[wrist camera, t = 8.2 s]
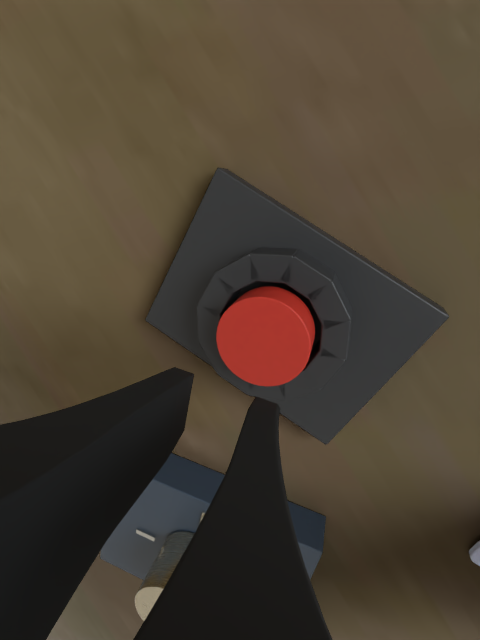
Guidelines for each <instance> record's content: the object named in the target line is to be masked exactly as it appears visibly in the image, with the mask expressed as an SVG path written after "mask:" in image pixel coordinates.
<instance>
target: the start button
mask: <svg viewBox="0 0 480 640" xmlns="http://www.w3.org/2000/svg"><path fill="white" fill-rule="evenodd" d="M314 338H315V324H314V320H313V317H312V314H311V312H310V310H309V309H308V307H307V306H306V304H305V303H304V302H303V301H302V300H301V299H300V298H299V297H297V296H296V295H295V294H293V293H291V292H290V291H288V290H285V289H282V288H279V287H273V286H264V287H258V288H254V289H252V290H249V291H248V292H246V293H244V294H243V295H242V296H241V297H240V298H238V299H237V300H236V301H235V302H234V303H233V304H232V305H231V306H230V307H229V308H228V309H227V310H226V311H225V312H224V314H223V315H222V317H221V319H220V321H219V323H218V326H217V332H216V341H217V347H218V351H219V354H220V356H221V358H222V360H223V361H224V363H225V364H226V366H227V367H228V368H229V369H230V370H231V371H232V372H233V373H234V374H235V375H236V376H238V377H239V378H241V379H243V380H244V381H246V382H249V383H251V384H254V385H259V386H278V385H281V384H285V383H287V382H289V381H291V380H293V379H294V378H295V377H297V376H298V375H299V374H300V373H301V372H302V371H303V369H304V368H305V366H306V364H307V362H308V360H309V357H310V353H311V350H312V346H313V342H314Z"/></svg>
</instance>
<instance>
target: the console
mask: <svg viewBox="0 0 480 640" xmlns="http://www.w3.org/2000/svg"><path fill="white" fill-rule="evenodd" d="M224 476H225V475H224V474H221V473H219V472H216V471H214V470H212V469H209V468H207V467H204V466H202V465H199V464H197V463H195V462H192V461H190V460H187V459H185V458H182V457H180V456H178V455H175V454H173V453H171V454H170V456H169V457H168V459H167V461H166V462H165V463H164V465H163V466H162V468H161V469H160V470H159V472H158V473H157V474H156V476H155V477H154V478H153V480H152V481H151V482H150V484H149V485H148V486H147V488H146V489H145V490H144V491H143V493H142V494H141V495H140V497H139V498H138V499H137V501H136V502H135V503H134V505H133V506H132V507H131V509H130V510H129V511H128V513H127V514H126V515H125V517H124V518H123V519H122V521H121V522H120V523H119V524H118V526H117V527H116V528H115V530H114V531H113V533H112V534H111V536H110V537H109V538H108V540H107V541H106V543H105V544H104V546H103V547H102V549H101V556H100V558H101V559H102V560H104V561H106V562H108V563H110V564H112V565H114V566H116V567H118V568H120V569H122V570H124V571H126V572H128V573H130V574H132V575H134V576H136V577H138V578H140V579H142V580H144V579H145V577H146V575H147V573H148V571H149V570H150V568H151V566H152V564H153V562H154V560H155V558H156V557H157V555H158V553H159V551H160V549H161V547H162V546H163V544H164V542H165V540H166V538H167V537H168V536H169V535H171V534H173V533H175V532H180V531H185V532H192V533H195V532H196V530H197V528H198V526H199V524H200V522H201V521H202V519H203V517H204V515H205V513H206V511H207V509H208V507H209V506H210V504H211V502H212V500H213V498H214V496H215V494H216V492H217V490H218V488H219V486H220V484H221V482H222V480H223V478H224ZM288 506H289V510H290V514H291V518H292V522H293V526H294V530H295V534H296V537H297V541H298V544H299V547H300V551H301V554H302V557H303V561H304V564H305V567H306V570H307V573H308V575H309V578H310V579H311V577H312V575H313V573H314V570H315V568H316V566H317V564H318V562H319V559H320V557H321V555H322V553H323V543H324V532H325V521H326V517H325V516H323V515H321V514H319V513H316V512H314V511H311V510H309V509H306V508H304V507H302V506H299V505H297V504H294V503H292V502H289V501H288Z"/></svg>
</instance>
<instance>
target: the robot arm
mask: <svg viewBox="0 0 480 640" xmlns="http://www.w3.org/2000/svg"><path fill="white" fill-rule="evenodd" d="M193 377H194V374H192V373H190V372H187V371H184V370H181V369H178V368H176V367H174V368H171V369H169V370H166V371H164V372H161V373H159V374H156V375H154V376H152V377H149V378H147V379H144V380H142V381H140V382H137V383H135V384H132V385H130V386H127V387H125V388H122V389H120V390H117V391H115V392H112V393H109V394H107V395H104V396H101V397H98V398H95V399H92V400H90V401H87V402H84V403H81V404H78V405H75V406H72V407H69V408H66V409H62V410H59V411H56V412H52V413H48V414H45V415H41V416H37V417H33V418H29V419H25V420H21V421H16V422H12V423H7V424H2V425H0V640H46V639H47V637H48V635H49V634H50V632H51V630H52V629H53V627H54V625H55V624H56V622H57V620H58V619H59V617H60V615H61V614H62V612H63V610H64V609H65V607H66V605H67V604H68V602H69V600H70V599H71V597H72V595H73V594H74V592H75V590H76V589H77V587H78V585H79V584H80V582H81V581H82V579H83V577H84V576H85V574H86V573H87V571H88V570H89V568H90V566H91V565H92V563H93V562H94V560H95V558H96V557H97V555H98V554H99V552H100V550H101V549H102V547H103V546H104V544H105V543H106V541H107V540H108V538H109V537H110V536H111V534H112V533H113V531H114V530H115V528H116V527H117V526H118V524H119V523H120V522H121V521H122V519H123V518H124V517H125V515H126V514H127V513H128V511H129V510H130V509H131V507H132V506H133V505H134V503H135V502H136V501H137V499H138V498H139V497H140V495H141V494H142V493H143V491H144V490H145V489H146V488H147V486H148V485H149V484H150V482H151V481H152V480H153V478H154V477H155V476H156V474H157V473H158V472H159V470H160V469H161V468H162V466H163V465H164V463H165V462H166V461H167V459H168V457H169V456H170V454H171V452H172V451H173V449H174V447H175V446H176V444H177V442H178V440H179V438H180V437H181V435H182V433H183V431H184V428H185V422H186V417H187V411H188V405H189V400H190V394H191V388H192V383H193ZM280 410H281V409H280V407H279V405H278V404H276V403H274V402H271V401H268V400H265V399H262V398H260V397H257V396H256V398H255V399H254V401H253V402H252V404H251V406H250V407H249V409H248V412H247V415H246V418H245V420H244V423H243V426H242V429H241V432H240V435H239V438H238V441H237V444H236V447H235V450H234V453H233V456H232V459H231V462H230V464H229V467H228V469H227V472H226V474H225V476H224V478H223V480H222V482H221V484H220V486H219V488H218V490H217V492H216V494H215V496H214V498H213V500H212V502H211V504H210V506H209V507H208V509H207V511H206V513H205V515H204V517H203V519H202V521H201V522H200V524H199V526H198V528H197V530H196V532H195V534H194V535H193V537H192V539H191V541H190V543H189V545H188V546H187V548H186V550H185V552H184V553H183V555H182V557H181V559H180V561H179V562H178V564H177V566H176V568H175V569H174V571H173V573H172V575H171V577H170V578H169V580H168V582H167V584H166V585H165V587H164V589H163V590H162V592H161V594H160V596H159V597H158V599H157V601H156V602H155V604H154V606H153V607H152V609H151V611H150V612H149V614H148V616H147V617H146V619H145V621H144V623H143V624H142V626H141V628H140V629H139V631H138V633H137V634H136V636H135V638H134V639H133V640H332V638H331V635H330V633H329V630H328V628H327V625H326V623H325V620H324V617H323V615H322V612H321V609H320V606H319V603H318V601H317V598H316V595H315V592H314V589H313V587H312V584H311V581H310V578H309V575H308V573H307V570H306V567H305V564H304V561H303V557H302V554H301V551H300V547H299V544H298V541H297V537H296V534H295V530H294V526H293V522H292V518H291V514H290V510H289V506H288V501H287V496H286V491H285V486H284V480H283V474H282V467H281V458H280V449H279V430H278V426H279V414H280ZM469 555H470V559H471V560H472V562H474V563H475V564H477V565H479V566H480V541H478V542H477V543H476V544H475V545H474V546H473V547H472V548H471V549H470V550H469Z"/></svg>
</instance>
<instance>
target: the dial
mask: <svg viewBox="0 0 480 640" xmlns="http://www.w3.org/2000/svg"><path fill="white" fill-rule="evenodd" d="M194 534H195V533H192V532H185V531H180V532H175V533H173V534H171V535H169V536H168V537H167V538H166V540H165V542H164V544H163V546H162V547H161V549H160V551H159V553H158V555H157V557H156V558H155V560H154V562H153V564H152V566H151V568H150V570H149V571H148V573H147V575H146V577H145V579H144V581H143V582H142V584H141V586H140V588H139V590H138V592H137V594H136V596H135V607H136V610H137V612H138V614H139V615H140V617H141V618H142V620H143V621H145V619H146V617H147V616H148V614H149V612H150V611H151V609H152V607H153V606H154V604H155V602H156V601H157V599H158V597H159V596H160V594H161V592H162V590H163V589H164V587H165V585H166V584H167V582H168V580H169V578H170V577H171V575H172V573H173V571H174V569H175V568H176V566H177V564H178V562H179V561H180V559H181V557H182V555H183V553H184V552H185V550H186V548H187V546H188V545H189V543H190V541H191V539H192V537H193V535H194Z"/></svg>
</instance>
